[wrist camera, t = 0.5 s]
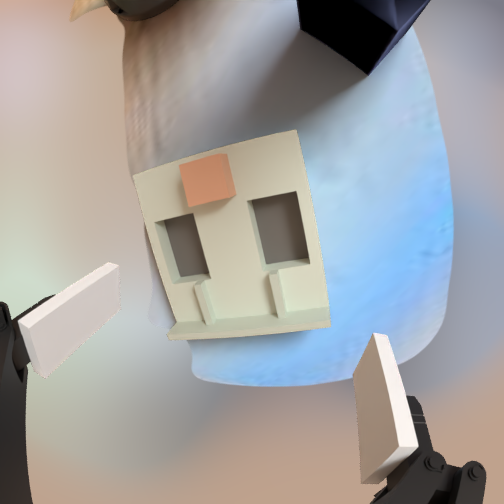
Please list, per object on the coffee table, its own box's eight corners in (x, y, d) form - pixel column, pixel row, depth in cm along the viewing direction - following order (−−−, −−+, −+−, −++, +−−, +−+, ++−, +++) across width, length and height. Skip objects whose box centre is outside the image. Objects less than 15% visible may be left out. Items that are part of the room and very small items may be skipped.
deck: (144, 173, 39) (117, 177, 33) (297, 132, 33) (294, 125, 27) (186, 318, 45) (169, 340, 39) (328, 302, 39) (331, 326, 33)
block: (188, 164, 34) (178, 165, 31) (226, 153, 33) (219, 153, 30) (198, 203, 35) (188, 207, 33) (236, 194, 34) (229, 197, 31)
